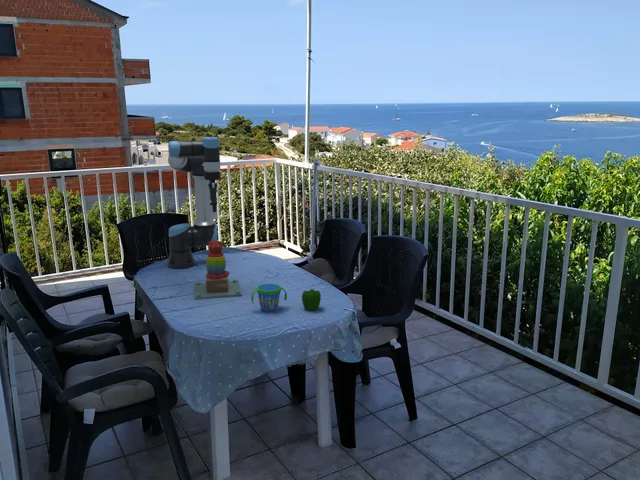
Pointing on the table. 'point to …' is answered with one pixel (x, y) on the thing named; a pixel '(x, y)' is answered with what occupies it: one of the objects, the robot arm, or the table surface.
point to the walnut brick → (217, 285)
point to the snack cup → (268, 296)
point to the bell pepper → (311, 299)
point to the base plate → (201, 293)
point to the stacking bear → (216, 261)
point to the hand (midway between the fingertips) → (214, 216)
